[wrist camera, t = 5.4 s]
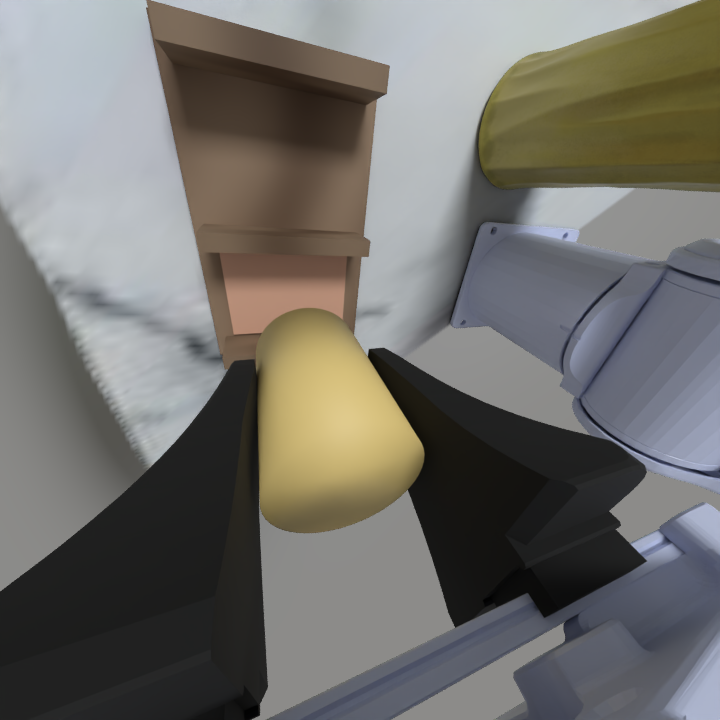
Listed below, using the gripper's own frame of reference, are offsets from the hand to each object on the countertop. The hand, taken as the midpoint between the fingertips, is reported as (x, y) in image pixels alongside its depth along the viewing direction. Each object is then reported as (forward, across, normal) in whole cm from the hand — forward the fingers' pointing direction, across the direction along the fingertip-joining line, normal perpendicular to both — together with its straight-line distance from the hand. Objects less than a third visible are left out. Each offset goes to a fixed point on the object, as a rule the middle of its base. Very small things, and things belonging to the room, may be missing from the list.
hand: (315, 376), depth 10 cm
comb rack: (+9, 0, -3) cm, 10 cm away
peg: (+2, 0, 0) cm, 2 cm away
